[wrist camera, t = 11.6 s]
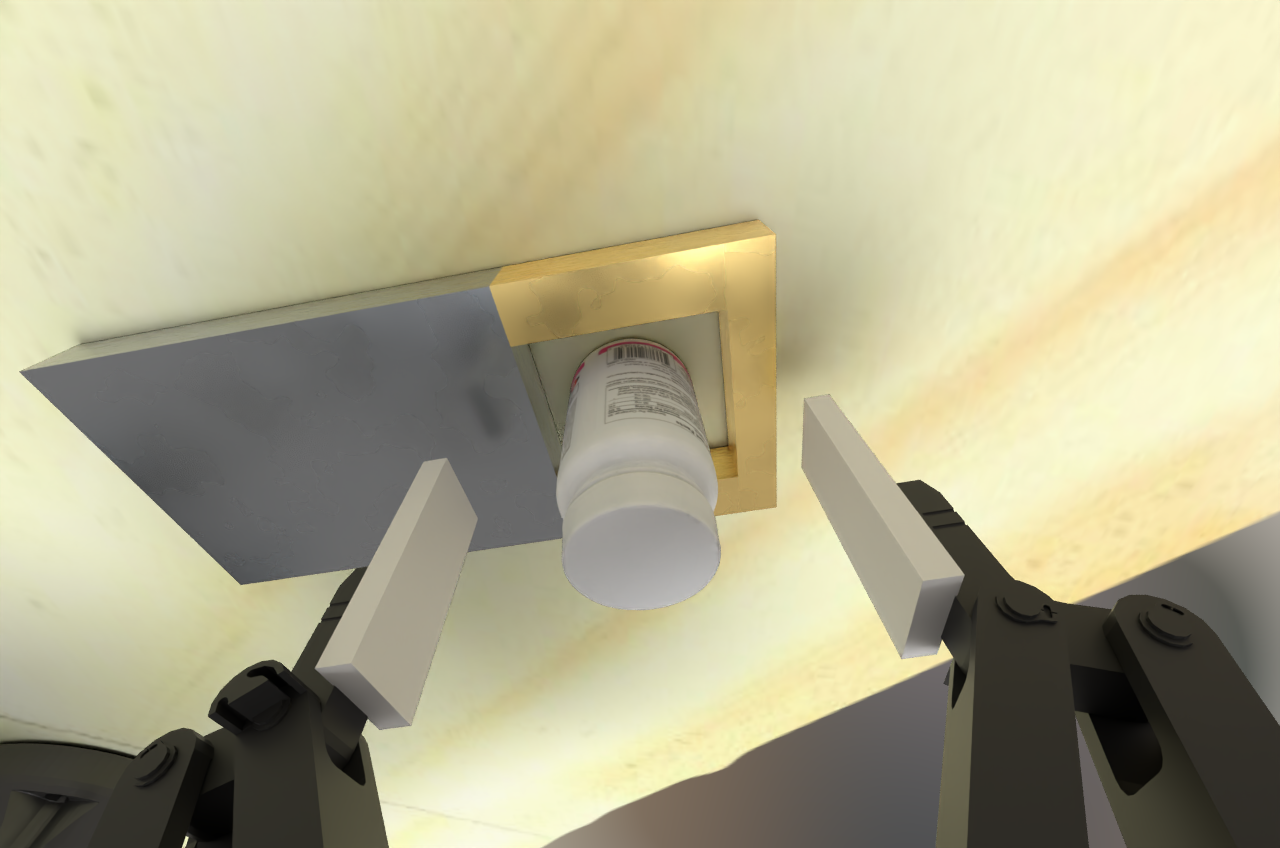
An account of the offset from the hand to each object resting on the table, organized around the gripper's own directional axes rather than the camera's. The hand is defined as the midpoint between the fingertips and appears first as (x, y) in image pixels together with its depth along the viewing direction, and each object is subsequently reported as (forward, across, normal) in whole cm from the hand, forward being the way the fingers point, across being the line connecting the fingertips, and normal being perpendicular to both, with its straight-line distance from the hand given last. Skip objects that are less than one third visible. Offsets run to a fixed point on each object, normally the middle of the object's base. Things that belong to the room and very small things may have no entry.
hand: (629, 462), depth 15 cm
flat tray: (+4, -7, 0) cm, 8 cm away
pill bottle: (+5, 0, 0) cm, 5 cm away
